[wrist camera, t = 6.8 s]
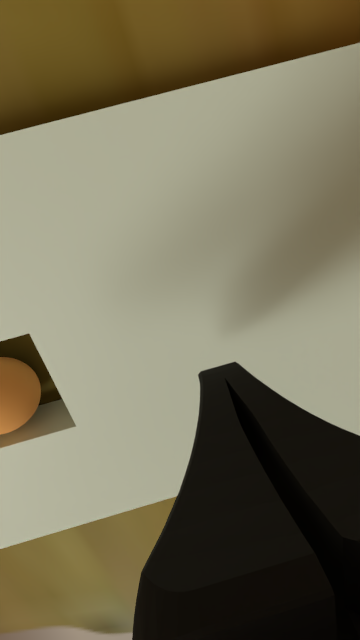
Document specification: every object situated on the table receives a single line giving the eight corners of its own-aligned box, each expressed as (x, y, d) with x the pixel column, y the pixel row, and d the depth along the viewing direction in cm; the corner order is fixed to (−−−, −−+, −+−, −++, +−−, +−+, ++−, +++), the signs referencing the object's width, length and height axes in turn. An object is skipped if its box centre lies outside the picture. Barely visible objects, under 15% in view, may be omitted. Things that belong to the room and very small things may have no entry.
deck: (343, 408, 20) (390, 459, 17) (-31, 519, 20) (-67, 597, 16) (338, 60, 13) (423, 15, 9) (-283, 221, 12) (-465, 242, 8)
